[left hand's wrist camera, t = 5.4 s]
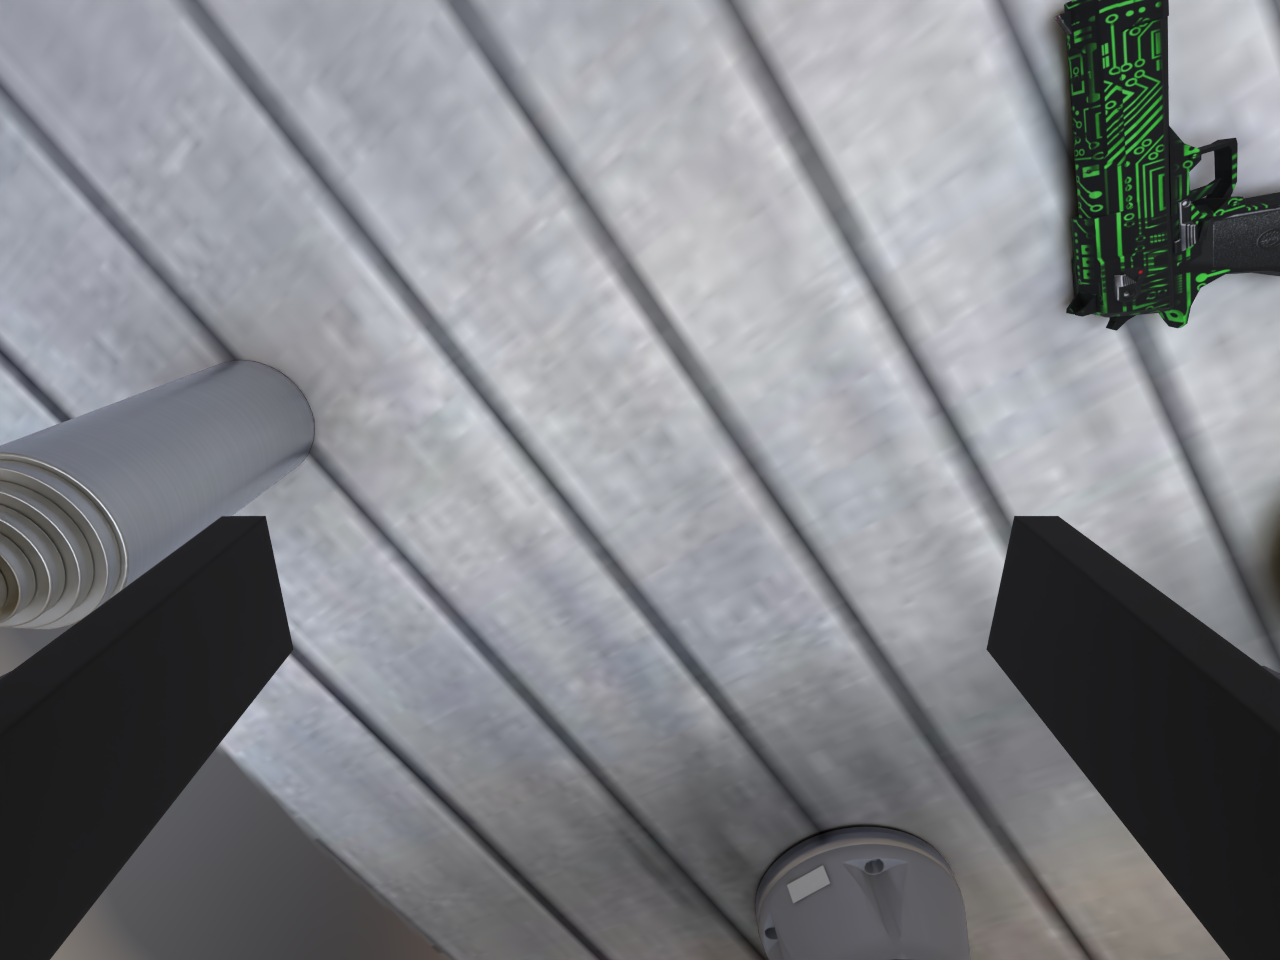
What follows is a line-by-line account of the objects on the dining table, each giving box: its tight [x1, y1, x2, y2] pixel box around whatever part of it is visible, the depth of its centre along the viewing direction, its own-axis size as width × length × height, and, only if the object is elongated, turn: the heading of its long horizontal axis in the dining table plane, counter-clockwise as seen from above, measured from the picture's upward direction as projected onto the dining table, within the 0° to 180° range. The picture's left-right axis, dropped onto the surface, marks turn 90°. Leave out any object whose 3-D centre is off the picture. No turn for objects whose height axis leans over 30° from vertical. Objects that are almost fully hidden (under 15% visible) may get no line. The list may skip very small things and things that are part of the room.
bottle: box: [0, 360, 314, 630], centre depth 31 cm, size 7×7×22 cm
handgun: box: [1055, 0, 1280, 330], centre depth 34 cm, size 16×3×15 cm
